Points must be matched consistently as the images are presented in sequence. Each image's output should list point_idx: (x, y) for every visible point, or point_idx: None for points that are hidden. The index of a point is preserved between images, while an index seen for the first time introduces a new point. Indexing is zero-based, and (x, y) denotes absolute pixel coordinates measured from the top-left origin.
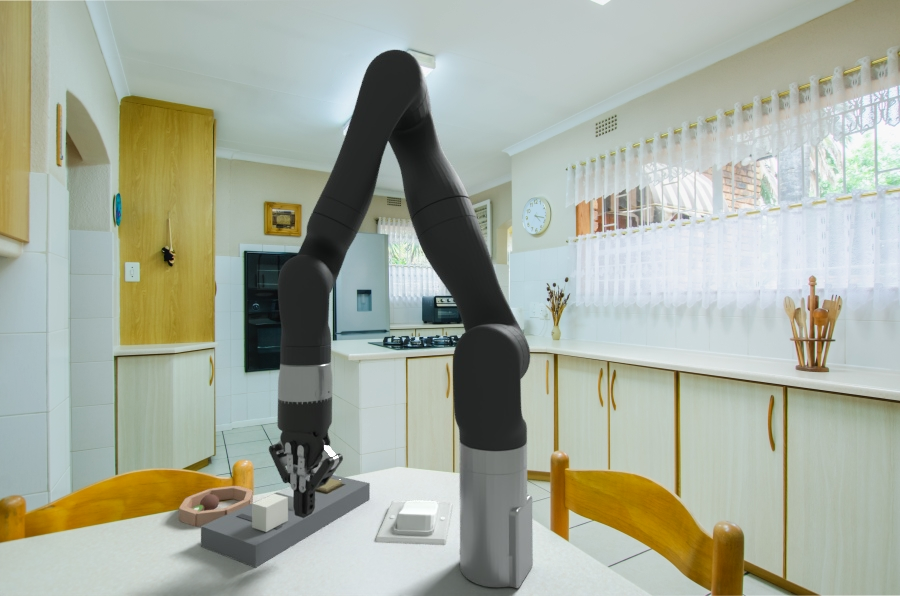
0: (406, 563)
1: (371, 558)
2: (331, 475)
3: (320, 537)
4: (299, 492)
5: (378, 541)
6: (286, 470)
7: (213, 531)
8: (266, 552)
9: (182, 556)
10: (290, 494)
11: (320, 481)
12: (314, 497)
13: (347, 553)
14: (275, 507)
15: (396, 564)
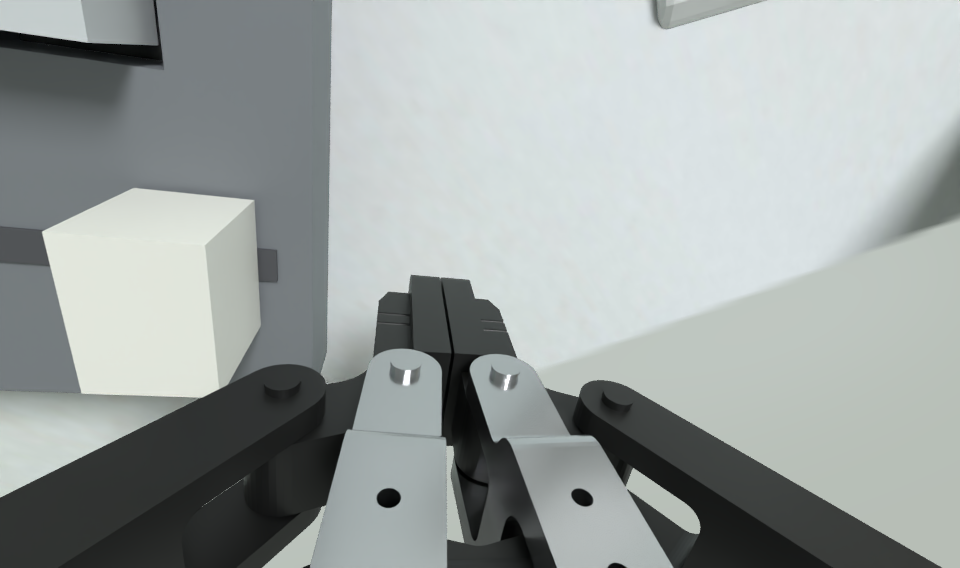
0: (819, 141)
1: (686, 157)
2: (734, 456)
3: (393, 82)
4: (447, 442)
5: (677, 24)
6: (261, 556)
7: (12, 388)
8: (322, 329)
9: (6, 399)
10: (8, 2)
11: (674, 529)
12: (509, 345)
13: (582, 160)
14: (225, 328)
15: (785, 160)
